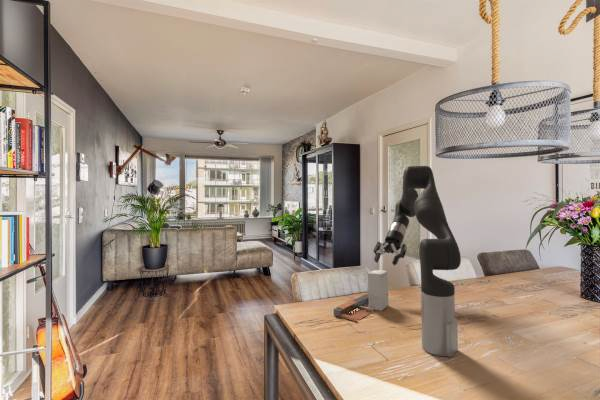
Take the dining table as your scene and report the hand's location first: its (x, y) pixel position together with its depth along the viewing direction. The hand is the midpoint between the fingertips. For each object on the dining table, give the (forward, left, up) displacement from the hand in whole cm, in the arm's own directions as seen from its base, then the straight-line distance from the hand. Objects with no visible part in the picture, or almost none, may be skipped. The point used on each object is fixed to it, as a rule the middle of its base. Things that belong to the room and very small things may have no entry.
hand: (384, 262), depth 138 cm
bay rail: (+2, +16, -17) cm, 23 cm away
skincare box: (-2, +9, -17) cm, 19 cm away
